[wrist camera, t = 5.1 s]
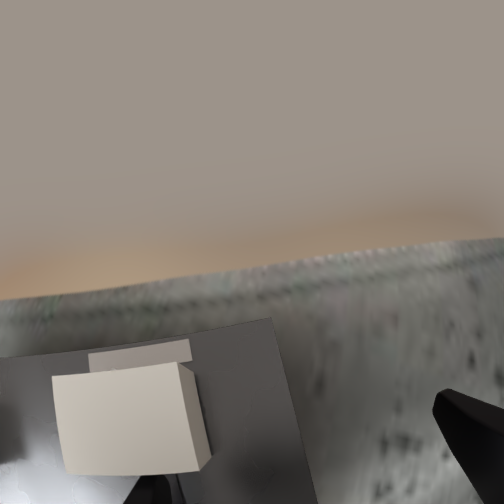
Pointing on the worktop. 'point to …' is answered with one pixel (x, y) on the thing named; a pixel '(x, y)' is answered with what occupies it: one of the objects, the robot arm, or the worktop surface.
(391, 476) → the worktop surface
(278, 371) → the switch box
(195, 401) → the switch
